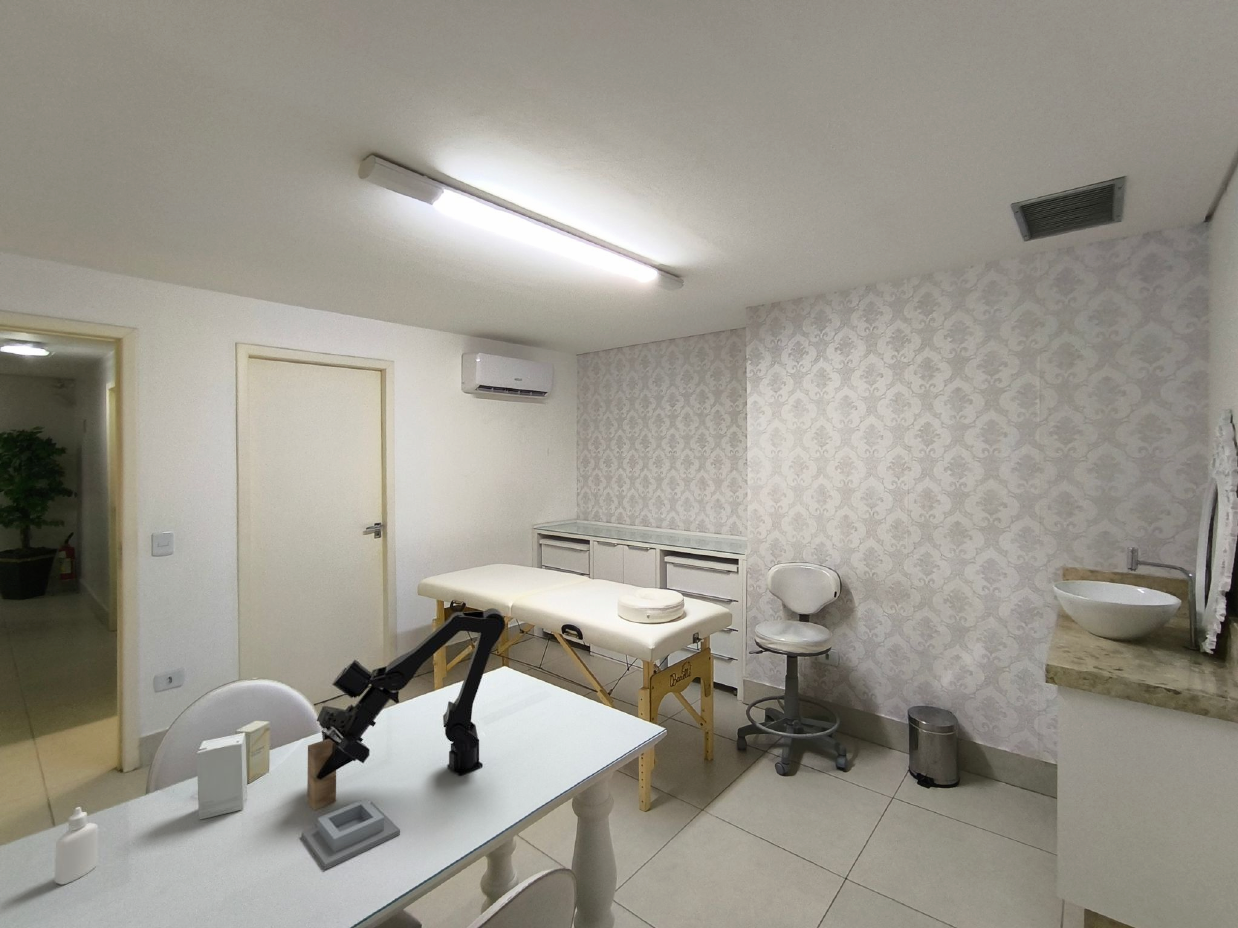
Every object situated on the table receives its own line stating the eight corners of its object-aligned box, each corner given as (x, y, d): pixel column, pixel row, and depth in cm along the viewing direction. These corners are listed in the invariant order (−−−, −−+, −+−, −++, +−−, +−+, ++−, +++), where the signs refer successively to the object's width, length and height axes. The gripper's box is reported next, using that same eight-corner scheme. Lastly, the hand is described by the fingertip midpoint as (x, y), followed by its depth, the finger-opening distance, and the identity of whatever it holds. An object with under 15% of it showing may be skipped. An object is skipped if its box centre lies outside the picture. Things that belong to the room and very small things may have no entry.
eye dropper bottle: (55, 876, 101) (56, 809, 101) (97, 861, 105) (98, 796, 105) (54, 888, 98) (55, 819, 98) (98, 872, 102) (99, 806, 102)
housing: (371, 806, 122) (371, 790, 122) (399, 834, 112) (399, 816, 112) (301, 835, 112) (301, 818, 112) (325, 869, 102) (325, 850, 102)
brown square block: (328, 793, 127) (329, 738, 127) (336, 801, 124) (336, 744, 124) (307, 801, 124) (307, 745, 124) (314, 810, 121) (314, 751, 121)
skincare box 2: (248, 784, 131) (249, 732, 132) (233, 782, 132) (233, 730, 132) (270, 770, 137) (271, 721, 138) (255, 768, 138) (256, 719, 139)
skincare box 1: (247, 797, 126) (248, 730, 126) (242, 811, 120) (243, 742, 121) (202, 806, 122) (203, 738, 123) (195, 821, 117) (196, 750, 117)
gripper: (329, 681, 134) (276, 742, 126) (354, 703, 120) (297, 773, 113) (362, 704, 139) (314, 764, 131) (391, 728, 126) (338, 797, 118)
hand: (315, 774), depth 123 cm, fingers closed on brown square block, 5 cm apart
